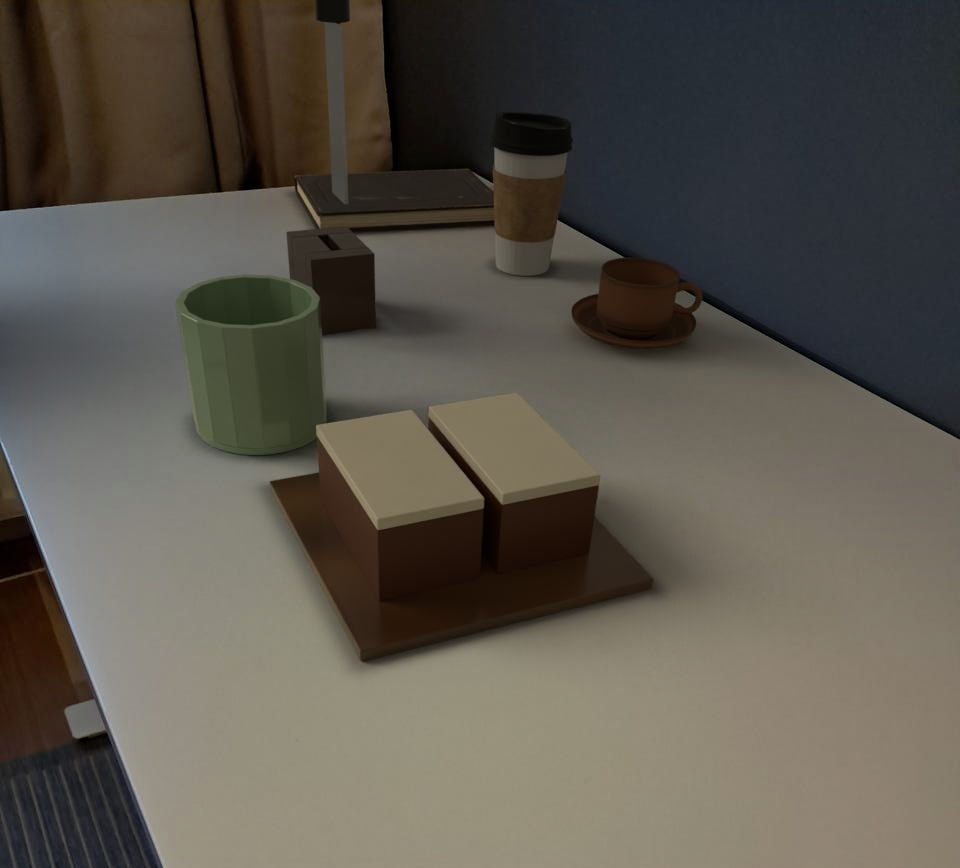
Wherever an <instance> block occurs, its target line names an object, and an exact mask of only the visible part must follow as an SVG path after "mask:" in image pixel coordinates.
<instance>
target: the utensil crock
mask: <svg viewBox="0 0 960 868" xmlns="http://www.w3.org/2000/svg"><path fill="white" fill-rule="evenodd" d="M175 309H176V317H177V322H178V323H177V324H178V329H179V330H178V331H179V337H180V341H181V347H182V348H181V349H182V355H183V360H184V367H185V373H186V380H187V387H188V392H189V400H190V406H191V413H192V418H193V422H194V426H195V430H196V434H197V435H198V436H199V437H200V439H201V440H202V441H203V442H205V443H206V444H207V445H209V446H211V447H212V448H214V449H217V450H220V451H222V452H223V451H224V452H227V453H232V454H237V455H244V456H266V455H277V454H281V453H286V452H291V451H295V450H297V449H300V448H302V447H305V446H306V445H309V444H310V443H313V442H314V441H315V440H317V433H316V425H320V424H326V423H327V413H328V412H327V394H326V377H325V360H324V359H325V358H324V342H323V341H324V340H323V335H322V323H321V306H320V297H319V296H318V295H317V293H316V292H315V291H314V290H313V288H311V287H309V286H307V285H305V284H303V283H300V282H298V281H296V280H292V279H290V278H286V277H282V276H276V275H271V274H270V275H269V274H236V275H225V276H219V277H215V278H212V279H208V280H204V281H201V282H196V283H194V284H193V285H191V286H190V287H187V288H186V289H184V290H183V291H181V292H180V294H179V295H178V297H177V299H176V301H175Z"/></svg>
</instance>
